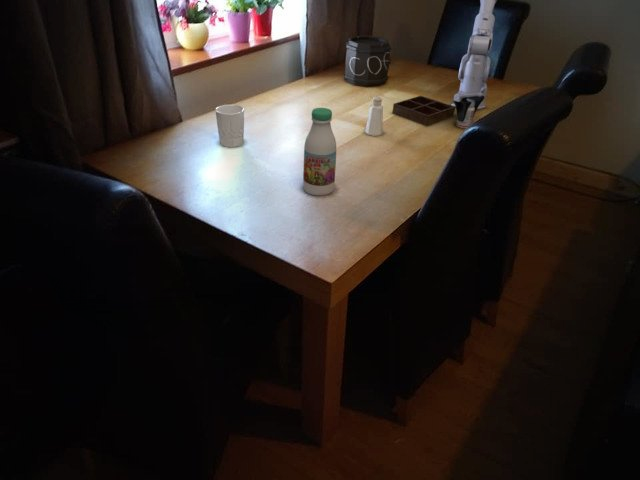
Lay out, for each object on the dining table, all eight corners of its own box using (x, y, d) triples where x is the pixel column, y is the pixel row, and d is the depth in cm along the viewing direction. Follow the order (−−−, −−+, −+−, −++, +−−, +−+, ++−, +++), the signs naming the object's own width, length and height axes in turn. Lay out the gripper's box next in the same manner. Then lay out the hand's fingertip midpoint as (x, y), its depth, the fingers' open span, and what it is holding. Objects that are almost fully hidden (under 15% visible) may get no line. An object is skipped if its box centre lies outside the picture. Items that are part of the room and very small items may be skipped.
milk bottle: (302, 181, 128) (303, 104, 117) (332, 181, 129) (337, 104, 117) (304, 196, 122) (305, 116, 110) (335, 196, 122) (340, 116, 111)
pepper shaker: (372, 128, 160) (376, 93, 154) (386, 133, 157) (390, 98, 151) (361, 132, 157) (364, 97, 151) (374, 137, 154) (378, 102, 148)
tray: (419, 104, 181) (420, 95, 179) (453, 116, 172) (455, 106, 170) (392, 113, 172) (393, 103, 170) (427, 126, 164) (428, 116, 162)
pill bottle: (471, 129, 163) (476, 103, 158) (456, 127, 163) (461, 102, 159) (470, 124, 167) (476, 99, 162) (455, 122, 167) (460, 97, 163)
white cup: (250, 140, 149) (248, 106, 143) (237, 150, 142) (236, 115, 137) (226, 135, 151) (223, 102, 145) (213, 145, 144) (210, 111, 139)
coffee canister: (391, 89, 195) (396, 46, 186) (344, 87, 195) (347, 44, 186) (386, 75, 210) (391, 35, 201) (343, 73, 210) (346, 33, 201)
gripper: (471, 83, 149) (462, 127, 157) (497, 75, 158) (487, 117, 165) (451, 78, 154) (443, 121, 161) (478, 70, 162) (469, 111, 170)
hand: (464, 119), depth 164 cm, fingers open, 5 cm apart
